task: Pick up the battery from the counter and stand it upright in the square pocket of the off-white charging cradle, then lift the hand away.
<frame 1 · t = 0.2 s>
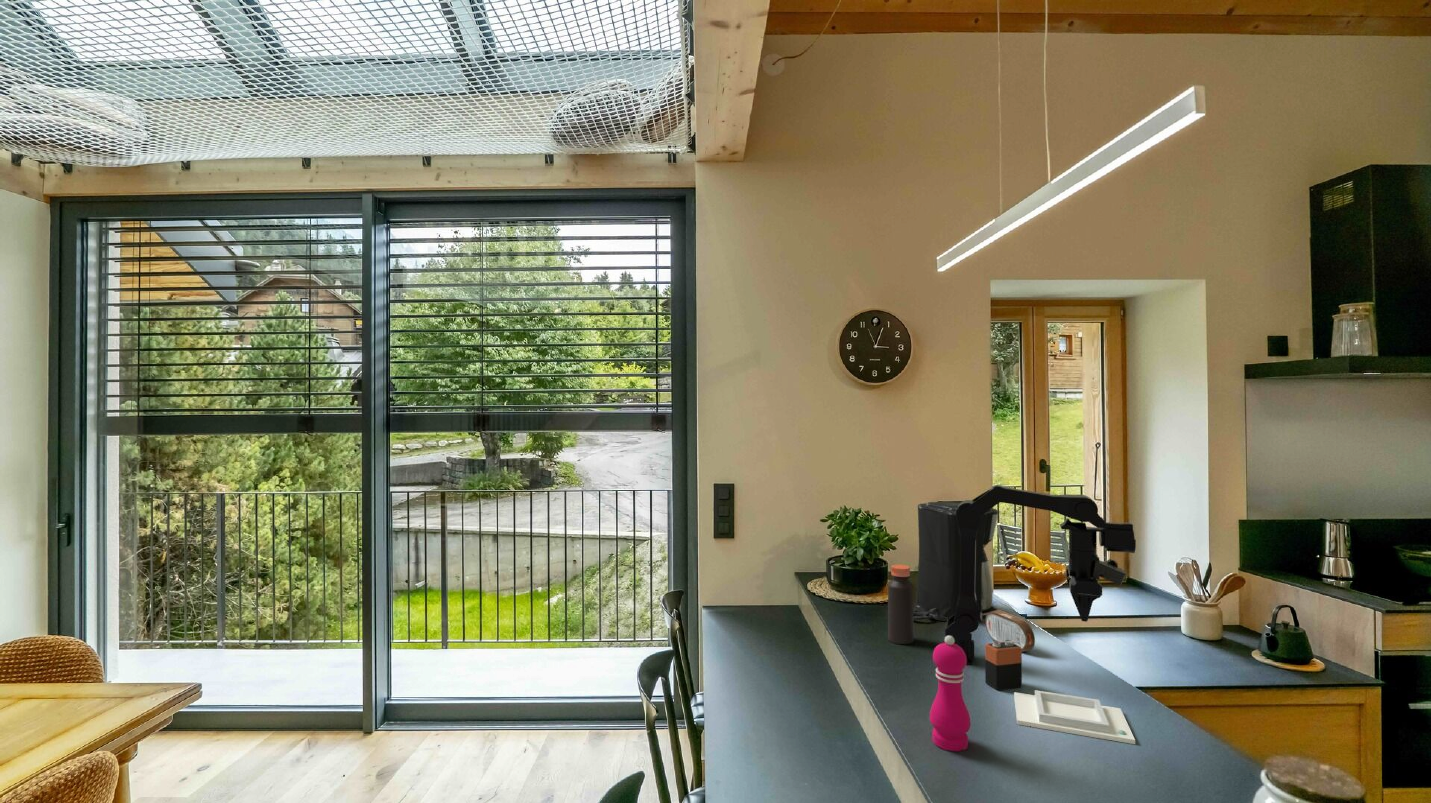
hand: (1082, 615, 151), 14 cm above the table, tool pointing down, fingers open, 9 cm apart
tin: (1008, 646, 171), on the table
bottle: (900, 641, 175), on the table
coffee maker: (942, 610, 203), on the table
battery: (1003, 686, 146), on the table
pepper mill: (950, 743, 120), on the table
charging cradle: (1069, 717, 130), on the table
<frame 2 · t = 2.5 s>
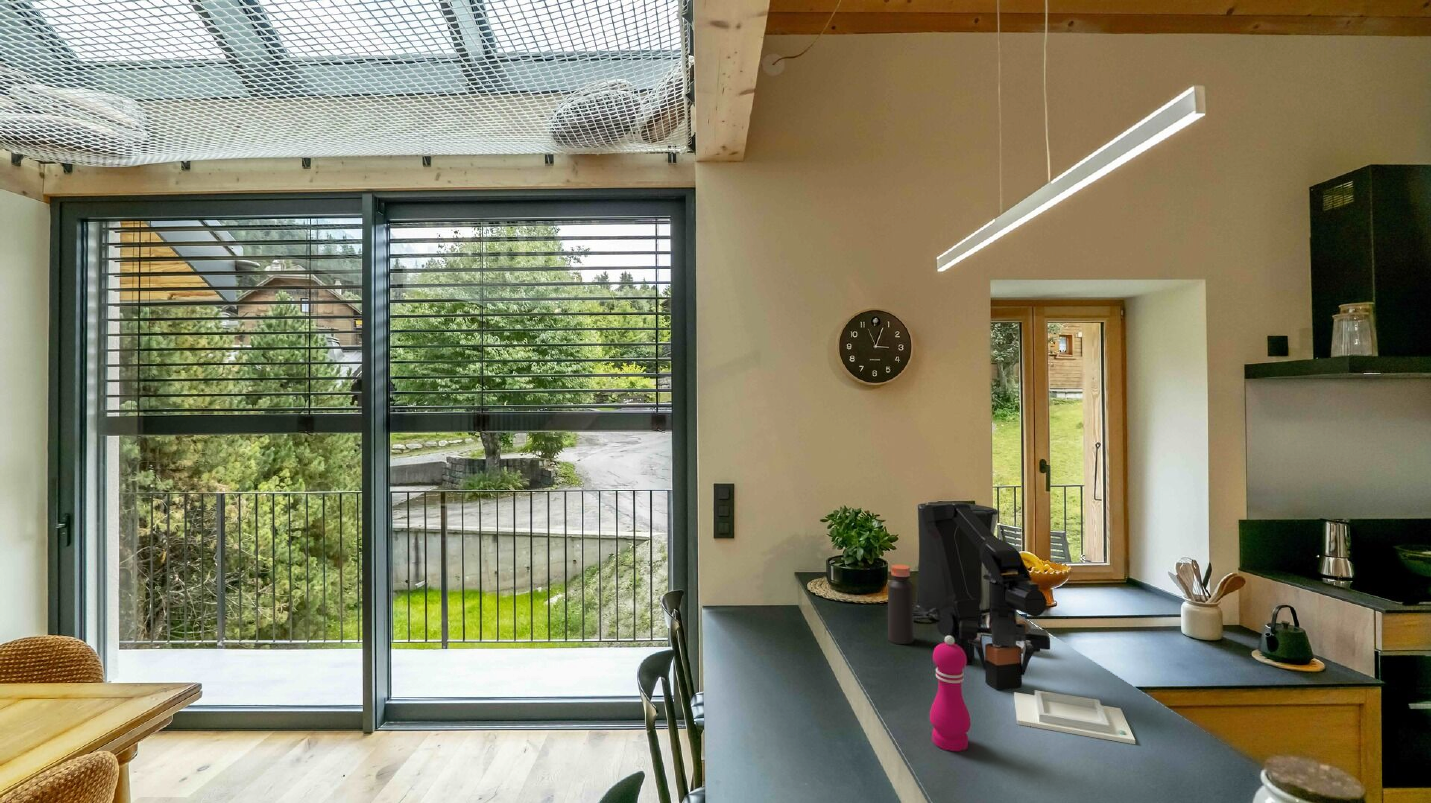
hand: (1003, 671, 146), 3 cm above the table, tool pointing down, fingers closed on battery, 8 cm apart
battery: (1003, 686, 146), on the table, touching gripper
everything else where it was.
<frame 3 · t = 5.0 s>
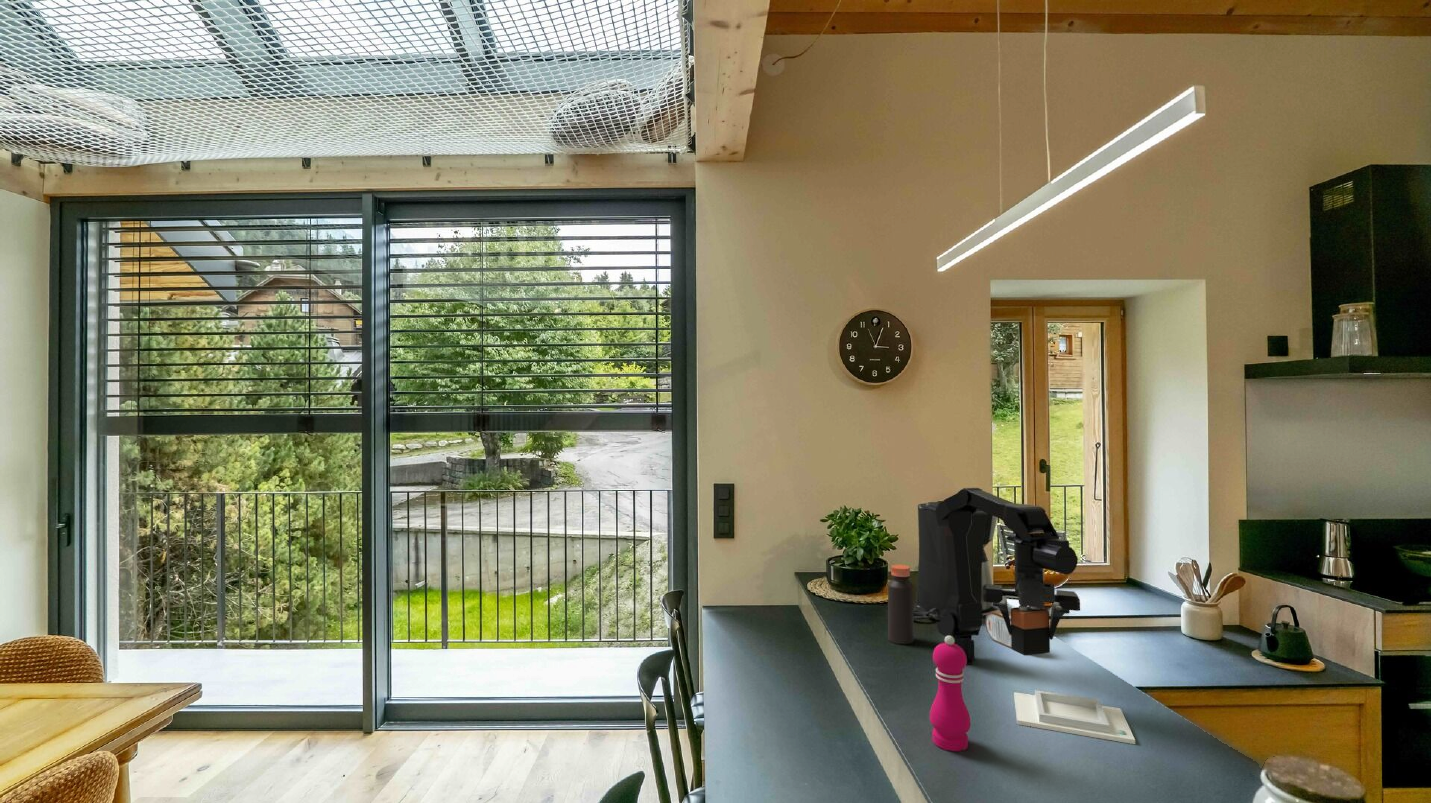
hand: (1030, 636, 139), 13 cm above the table, tool pointing down, fingers closed on battery, 8 cm apart
battery: (1030, 652, 139), point 10 cm above the table, touching gripper
everything else where it was.
when the fingers open (5 cm above the table, at t = 7.9 s): battery stays where it is, resting on charging cradle.
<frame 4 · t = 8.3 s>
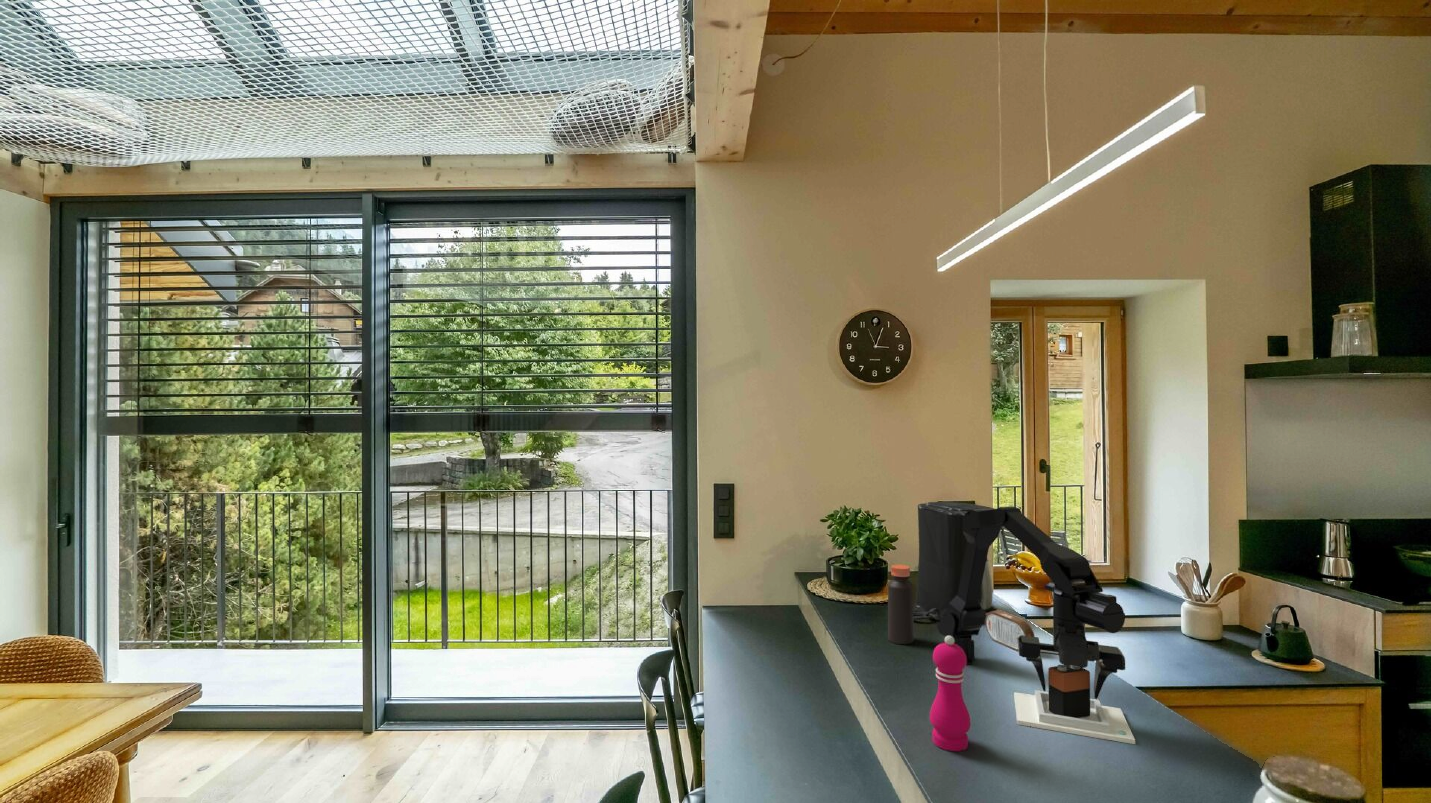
hand: (1069, 694, 131), 5 cm above the table, tool pointing down, fingers open, 9 cm apart
battery: (1069, 714, 131), point 1 cm above the table, touching charging cradle
everything else where it was.
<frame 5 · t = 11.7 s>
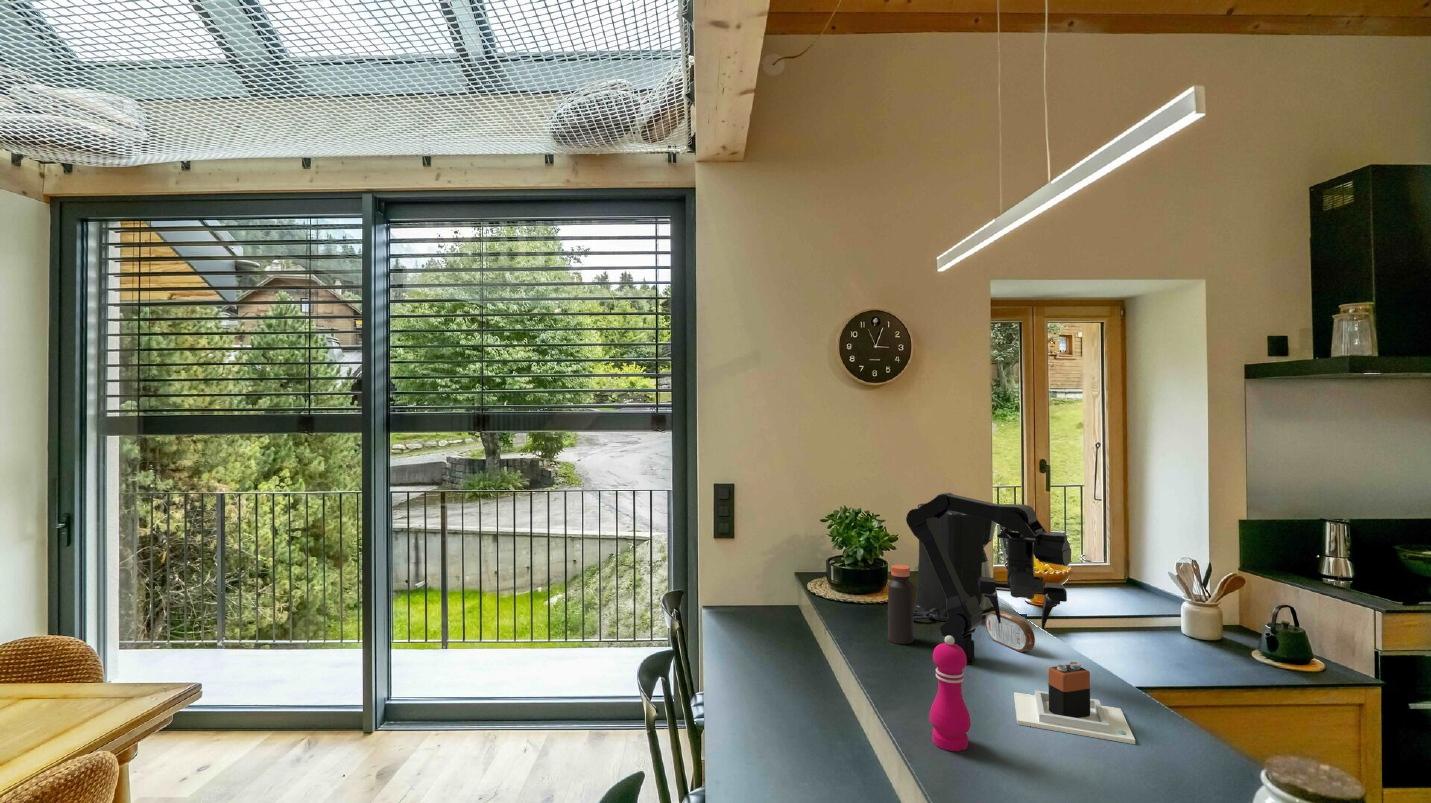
hand: (1020, 625, 151), 12 cm above the table, tool pointing down, fingers open, 9 cm apart
nothing on the table moved.
at the end: battery 0.1 cm off-centre on the charging cradle, point 0.6 cm above the charging cradle's base; battery tilted 0°; the gripper is holding nothing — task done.
